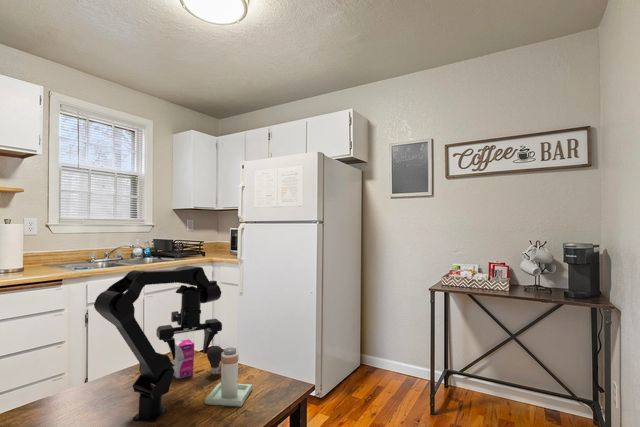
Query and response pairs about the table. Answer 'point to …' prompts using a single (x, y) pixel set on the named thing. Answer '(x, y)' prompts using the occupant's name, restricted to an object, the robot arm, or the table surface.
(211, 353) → the light bulb
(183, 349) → the supplement box
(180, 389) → the table surface
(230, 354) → the bottle
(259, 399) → the table surface
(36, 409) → the table surface
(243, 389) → the tray
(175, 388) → the table surface
